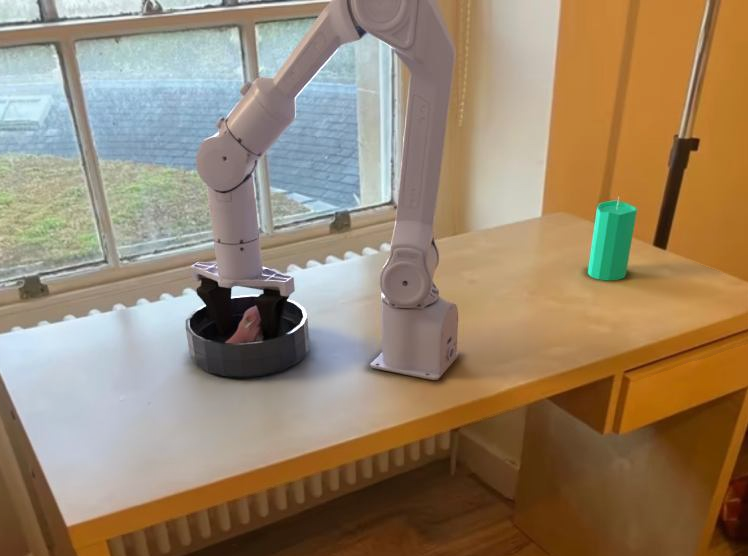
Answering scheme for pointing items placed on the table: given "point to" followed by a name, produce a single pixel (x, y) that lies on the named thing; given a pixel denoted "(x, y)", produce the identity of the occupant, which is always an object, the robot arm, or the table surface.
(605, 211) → the candle
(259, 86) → the robot arm
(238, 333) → the pink curved piece
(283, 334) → the dark round bowl
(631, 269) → the table surface
